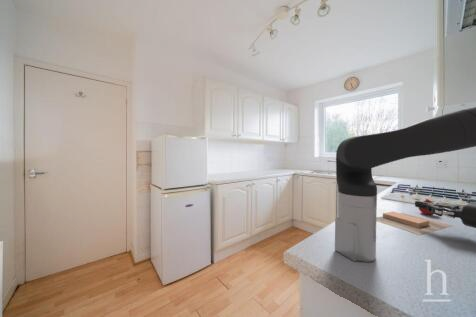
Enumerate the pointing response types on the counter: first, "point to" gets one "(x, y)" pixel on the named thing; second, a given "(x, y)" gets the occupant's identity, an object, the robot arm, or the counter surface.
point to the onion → (426, 209)
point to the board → (421, 230)
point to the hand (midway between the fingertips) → (416, 203)
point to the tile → (406, 219)
